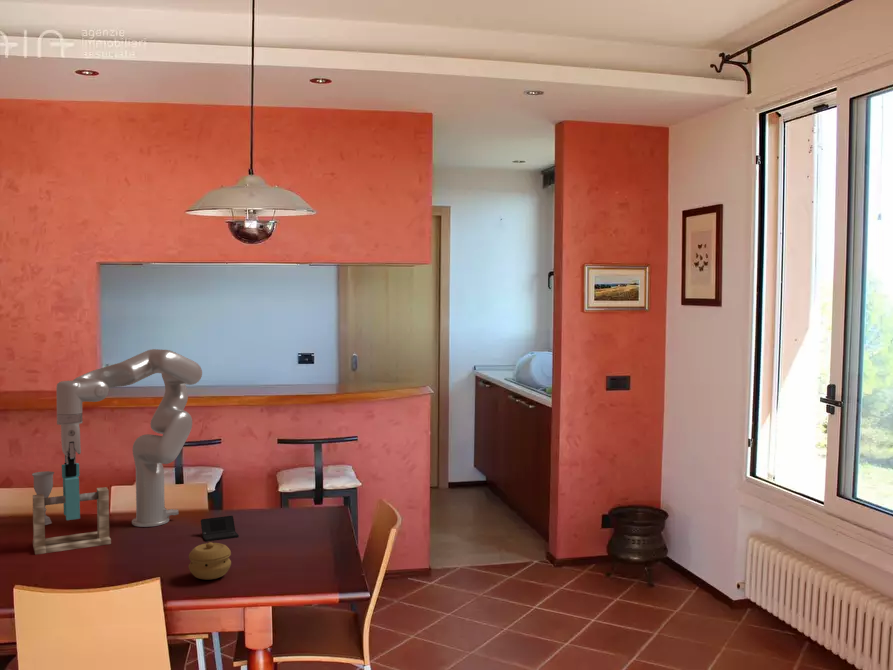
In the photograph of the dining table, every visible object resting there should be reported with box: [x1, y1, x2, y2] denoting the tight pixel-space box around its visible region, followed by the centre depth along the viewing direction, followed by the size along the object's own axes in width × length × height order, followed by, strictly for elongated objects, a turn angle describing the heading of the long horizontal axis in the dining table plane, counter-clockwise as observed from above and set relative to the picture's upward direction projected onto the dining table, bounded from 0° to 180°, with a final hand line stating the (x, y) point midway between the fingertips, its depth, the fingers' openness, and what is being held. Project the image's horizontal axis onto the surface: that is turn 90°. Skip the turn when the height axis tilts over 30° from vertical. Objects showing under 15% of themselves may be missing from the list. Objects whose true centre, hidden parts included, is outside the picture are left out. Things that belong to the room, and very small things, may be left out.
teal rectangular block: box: [61, 462, 81, 521], centre depth 259 cm, size 5×9×17 cm, turn 31°
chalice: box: [31, 470, 55, 526], centre depth 283 cm, size 7×7×18 cm
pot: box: [188, 541, 232, 581], centre depth 228 cm, size 12×12×10 cm
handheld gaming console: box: [200, 515, 240, 543], centre depth 269 cm, size 12×7×10 cm
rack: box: [32, 486, 112, 556], centre depth 259 cm, size 22×12×17 cm, turn 121°
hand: (70, 474), depth 258 cm, fingers closed on teal rectangular block
